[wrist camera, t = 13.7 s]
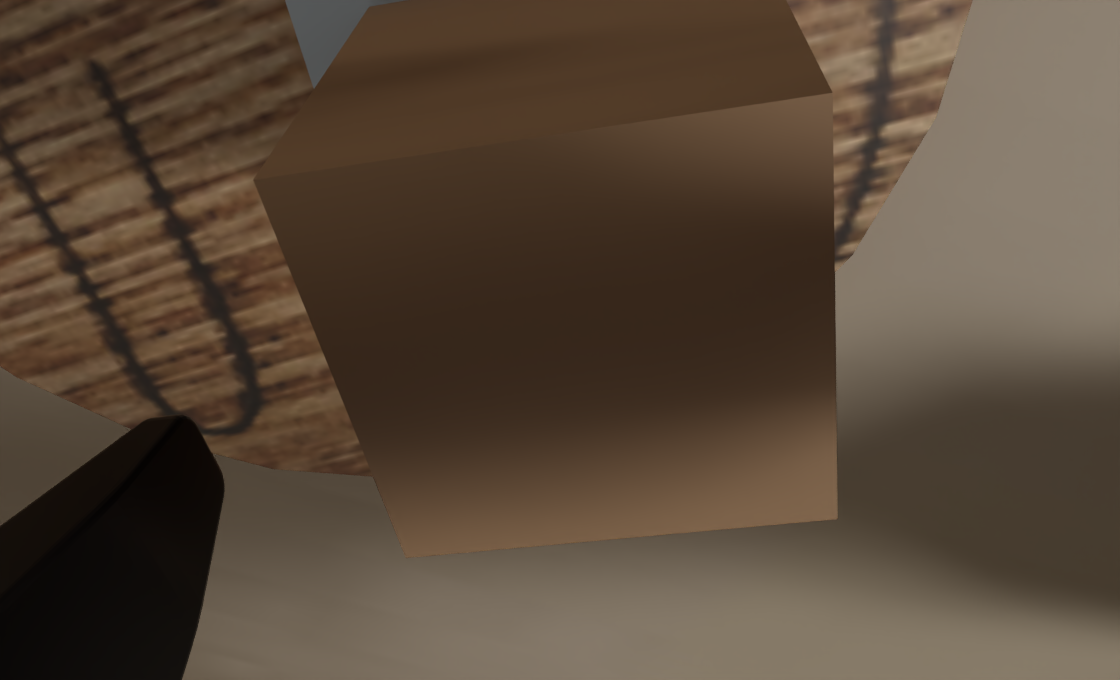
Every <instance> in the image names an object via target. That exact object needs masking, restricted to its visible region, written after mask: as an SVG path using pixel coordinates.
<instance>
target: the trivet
mask: <svg viewBox="0 0 1120 680" xmlns="http://www.w3.org/2000/svg"><path fill="white" fill-rule="evenodd" d="M786 1H787V3H788V5H789V7H790V9H791V11H792V13H793V15H794V17H795V19H796V21H797V23H798V25H799V27H800V29H801V30H802V32H803V34H804V36H805V38H806V40H807V42H808V44H809V46H810V48H811V50H812V52H813V54H814V56H815V58H816V60H817V62H818V64H819V66H820V68H821V70H822V72H823V74H824V76H825V78H826V80H827V82H828V84H829V86H830V88H831V90H832V92H833V155H834V243H835V272H836V271H837V270H838V269H839V268H840V267H841V266H842V265H843V264H844V263H845V262H846V261H847V260H848V259H849V258H850V257H851V256H852V255H853V253H854V251H855V250H856V248H857V246H858V245H859V243H860V242H861V240H862V238H863V237H864V235H865V233H866V232H867V230H868V228H869V227H870V225H871V223H872V222H873V220H874V219H875V217H876V215H877V214H878V212H879V210H880V209H881V207H882V205H883V204H884V202H885V200H886V199H887V197H888V195H889V194H890V192H891V191H892V189H893V187H894V186H895V184H896V182H897V181H898V179H899V177H900V176H901V174H902V172H903V171H904V169H905V168H906V166H907V164H908V163H909V161H910V159H911V158H912V156H913V154H914V153H915V151H916V149H917V148H918V146H919V145H920V143H921V141H922V140H923V138H924V136H925V135H926V133H927V131H928V130H929V128H930V126H931V125H932V123H933V121H934V120H935V118H936V116H937V113H938V109H939V106H940V103H941V100H942V97H943V93H944V90H945V87H946V84H947V81H948V77H949V74H950V71H951V68H952V64H953V61H954V58H955V55H956V52H957V48H958V45H959V42H960V39H961V36H962V32H963V29H964V26H965V23H966V20H967V16H968V13H969V10H970V7H971V4H972V0H786ZM313 90H314V88H313V85H312V82H311V79H310V76H309V73H308V70H307V67H306V63H305V60H304V57H303V54H302V51H301V48H300V45H299V42H298V39H297V36H296V33H295V29H294V26H293V23H292V20H291V17H290V14H289V11H288V8H287V5H286V2H285V0H0V366H1V367H2V368H4V369H5V370H7V371H8V372H10V373H11V374H13V375H14V376H16V377H17V378H20V379H22V380H24V381H26V382H28V383H31V384H33V385H35V386H37V387H39V388H42V389H44V390H46V391H48V392H51V393H53V394H55V395H57V396H59V397H62V398H64V399H66V400H68V401H70V402H73V403H75V404H77V405H79V406H81V407H84V408H86V409H88V410H90V411H92V412H95V413H97V414H99V415H101V416H103V417H106V418H108V419H110V420H112V421H114V422H117V423H119V424H121V425H123V426H125V427H128V428H130V429H133V428H134V427H136V426H137V425H138V424H140V423H141V422H143V421H144V420H146V419H149V418H153V417H161V416H169V415H178V414H183V415H186V416H189V417H190V418H191V419H193V420H194V421H195V423H196V424H197V426H198V428H199V430H200V432H201V433H202V435H203V437H204V439H205V441H206V443H207V445H208V447H209V448H210V450H211V452H212V453H214V454H218V455H222V456H226V457H229V458H233V459H237V460H241V461H245V462H248V463H252V464H256V465H260V466H264V467H268V468H271V469H280V470H293V471H307V472H320V473H333V474H346V475H360V476H373V475H372V473H371V470H370V468H369V465H368V463H367V460H366V458H365V455H364V453H363V451H362V448H361V446H360V443H359V441H358V438H357V436H356V433H355V431H354V428H353V426H352V423H351V421H350V418H349V416H348V413H347V411H346V408H345V406H344V403H343V401H342V399H341V396H340V394H339V391H338V389H337V386H336V384H335V381H334V379H333V376H332V374H331V371H330V369H329V366H328V364H327V361H326V359H325V356H324V354H323V352H322V349H321V347H320V344H319V342H318V339H317V337H316V334H315V332H314V329H313V327H312V324H311V322H310V319H309V317H308V314H307V312H306V309H305V307H304V305H303V302H302V300H301V297H300V295H299V292H298V290H297V287H296V285H295V282H294V280H293V277H292V275H291V272H290V270H289V267H288V265H287V262H286V260H285V258H284V255H283V253H282V250H281V248H280V245H279V243H278V240H277V238H276V235H275V233H274V230H273V228H272V225H271V223H270V220H269V218H268V215H267V213H266V210H265V208H264V206H263V203H262V201H261V198H260V196H259V193H258V191H257V188H256V186H255V183H254V181H253V179H254V178H255V176H256V175H257V173H258V172H259V170H260V169H261V168H262V166H263V165H264V163H265V162H266V160H267V159H268V157H269V156H270V154H271V153H272V151H273V150H274V148H275V147H276V145H277V144H278V142H279V141H280V139H281V138H282V136H283V135H284V133H285V132H286V130H287V129H288V127H289V126H290V124H291V123H292V121H293V120H294V118H295V117H296V115H297V114H298V112H299V111H300V109H301V108H302V106H303V105H304V103H305V102H306V100H307V99H308V97H309V96H310V94H311V93H312V91H313Z"/></svg>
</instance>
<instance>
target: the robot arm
mask: <svg viewBox="0 0 1120 680" xmlns="http://www.w3.org/2000/svg"><path fill="white" fill-rule="evenodd" d="M223 498H224V479H223V475H222V472H221V469H220V467H219V465H218V464H217V462H216V460H215V458H214V456H213V454H212V452H211V450H210V448H209V447H208V445H207V443H206V441H205V439H204V437H203V435H202V433H201V432H200V430H199V428H198V426H197V424H196V423H195V421H194V420H193V419H191V418H190V417H189V416H186V415H183V414H178V415H169V416H161V417H153V418H149V419H146V420H144V421H143V422H141V423H140V424H138V425H137V426H136V427H134V428H133V429H132V430H130V431H129V432H128V433H126V434H125V435H123V436H122V437H121V438H119V439H118V440H117V441H115V442H114V443H113V444H111V445H110V446H108V447H107V448H106V449H104V450H103V451H102V452H100V453H99V454H98V455H96V456H95V457H94V458H92V459H91V460H89V461H88V462H87V463H85V464H84V465H83V466H81V467H80V468H79V469H77V470H76V471H75V472H73V473H72V474H70V475H69V476H68V477H66V478H65V479H64V480H62V481H61V482H60V483H58V484H57V485H55V486H54V487H53V488H51V489H50V490H49V491H47V492H46V493H45V494H43V495H42V496H41V497H39V498H38V499H36V500H35V501H34V502H32V503H31V504H30V505H28V506H27V507H26V508H24V509H23V510H22V511H20V512H19V513H17V514H16V515H15V516H13V517H12V518H11V519H9V520H8V521H7V522H5V523H4V524H3V525H1V526H0V680H182V678H183V674H184V671H185V668H186V665H187V662H188V658H189V655H190V652H191V649H192V645H193V641H194V638H195V634H196V631H197V627H198V623H199V619H200V615H201V610H202V606H203V601H204V596H205V591H206V586H207V580H208V575H209V570H210V565H211V560H212V555H213V550H214V544H215V539H216V534H217V529H218V524H219V519H220V514H221V509H222V503H223Z"/></svg>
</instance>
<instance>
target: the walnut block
mask: <svg viewBox="0 0 1120 680" xmlns="http://www.w3.org/2000/svg"><path fill="white" fill-rule="evenodd" d="M253 181H254V183H255V186H256V188H257V191H258V193H259V196H260V198H261V201H262V203H263V206H264V208H265V210H266V213H267V215H268V218H269V220H270V223H271V225H272V228H273V230H274V233H275V235H276V238H277V240H278V243H279V245H280V248H281V250H282V253H283V255H284V258H285V260H286V262H287V265H288V267H289V270H290V272H291V275H292V277H293V280H294V282H295V285H296V287H297V290H298V292H299V295H300V297H301V300H302V302H303V305H304V307H305V309H306V312H307V314H308V317H309V319H310V322H311V324H312V327H313V329H314V332H315V334H316V337H317V339H318V342H319V344H320V347H321V349H322V352H323V354H324V356H325V359H326V361H327V364H328V366H329V369H330V371H331V374H332V376H333V379H334V381H335V384H336V386H337V389H338V391H339V394H340V396H341V399H342V401H343V403H344V406H345V408H346V411H347V413H348V416H349V418H350V421H351V423H352V426H353V428H354V431H355V433H356V436H357V438H358V441H359V443H360V446H361V448H362V451H363V453H364V455H365V458H366V460H367V463H368V465H369V468H370V470H371V473H372V475H373V478H374V480H375V483H376V485H377V488H378V490H379V493H380V495H381V498H382V500H383V502H384V505H385V507H386V510H387V512H388V515H389V517H390V520H391V522H392V525H393V527H394V530H395V532H396V535H397V537H398V540H399V542H400V545H401V547H402V549H403V552H404V554H405V557H406V558H411V557H422V556H433V555H444V554H455V553H466V552H477V551H489V550H500V549H511V548H522V547H533V546H544V545H555V544H566V543H577V542H589V541H600V540H611V539H622V538H633V537H644V536H655V535H666V534H678V533H689V532H700V531H711V530H722V529H733V528H744V527H755V526H766V525H778V524H789V523H800V522H811V521H822V520H833V519H838V509H837V420H836V332H835V243H834V155H833V92H832V90H831V88H830V86H829V84H828V82H827V80H826V78H825V76H824V74H823V72H822V70H821V68H820V66H819V64H818V62H817V60H816V58H815V56H814V54H813V52H812V50H811V48H810V46H809V44H808V42H807V40H806V38H805V36H804V34H803V32H802V30H801V29H800V27H799V25H798V23H797V21H796V19H795V17H794V15H793V13H792V11H791V9H790V7H789V5H788V3H787V1H786V0H405V1H399V2H394V3H388V4H382V5H376V6H371V7H369V8H368V9H367V11H366V12H365V14H364V15H363V17H362V18H361V20H360V21H359V23H358V24H357V26H356V27H355V29H354V30H353V31H352V33H351V34H350V36H349V37H348V39H347V40H346V42H345V43H344V45H343V46H342V48H341V49H340V51H339V52H338V54H337V55H336V57H335V58H334V60H333V61H332V63H331V64H330V66H329V67H328V69H327V70H326V72H325V73H324V75H323V76H322V78H321V79H320V81H319V82H318V84H317V85H316V87H315V88H314V90H313V91H312V93H311V94H310V96H309V97H308V99H307V100H306V102H305V103H304V105H303V106H302V108H301V109H300V111H299V112H298V114H297V115H296V117H295V118H294V120H293V121H292V123H291V124H290V126H289V127H288V129H287V130H286V132H285V133H284V135H283V136H282V138H281V139H280V141H279V142H278V144H277V145H276V147H275V148H274V150H273V151H272V153H271V154H270V156H269V157H268V159H267V160H266V162H265V163H264V165H263V166H262V168H261V169H260V170H259V172H258V173H257V175H256V176H255V178H254V179H253Z"/></svg>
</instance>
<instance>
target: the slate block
mask: <svg viewBox="0 0 1120 680" xmlns="http://www.w3.org/2000/svg"><path fill="white" fill-rule="evenodd" d="M399 1H405V0H285V2H286V5H287V8H288V11H289V14H290V17H291V20H292V23H293V26H294V29H295V33H296V36H297V39H298V42H299V45H300V48H301V51H302V54H303V57H304V60H305V63H306V67H307V70H308V73H309V76H310V79H311V82H312V85H313V88H315V87H316V85H317V84H318V82H319V81H320V79H321V78H322V76H323V75H324V73H325V72H326V70H327V69H328V67H329V66H330V64H331V63H332V61H333V60H334V58H335V57H336V55H337V54H338V52H339V51H340V49H341V48H342V46H343V45H344V43H345V42H346V40H347V39H348V37H349V36H350V34H351V33H352V31H353V30H354V29H355V27H356V26H357V24H358V23H359V21H360V20H361V18H362V17H363V15H364V14H365V12H366V11H367V9H368V8H369V7H371V6H376V5H382V4H388V3H394V2H399Z"/></svg>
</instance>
